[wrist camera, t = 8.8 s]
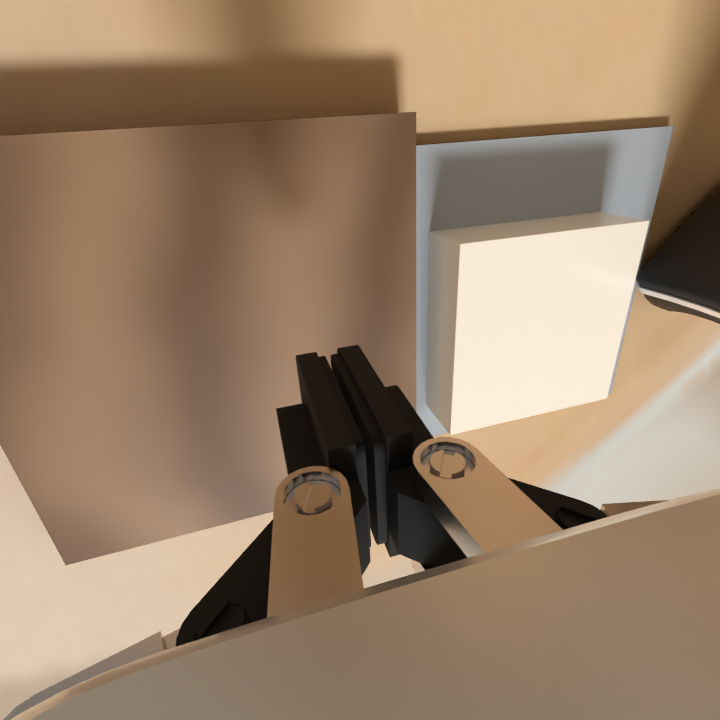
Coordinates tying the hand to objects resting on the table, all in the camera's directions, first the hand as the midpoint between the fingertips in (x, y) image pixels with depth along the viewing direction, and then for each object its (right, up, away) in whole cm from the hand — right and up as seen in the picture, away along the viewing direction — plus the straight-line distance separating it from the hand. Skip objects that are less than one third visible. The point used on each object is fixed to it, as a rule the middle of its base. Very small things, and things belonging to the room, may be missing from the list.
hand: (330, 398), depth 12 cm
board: (-5, +2, +5) cm, 7 cm away
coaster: (+7, +3, +8) cm, 11 cm away
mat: (+8, +4, +8) cm, 12 cm away
